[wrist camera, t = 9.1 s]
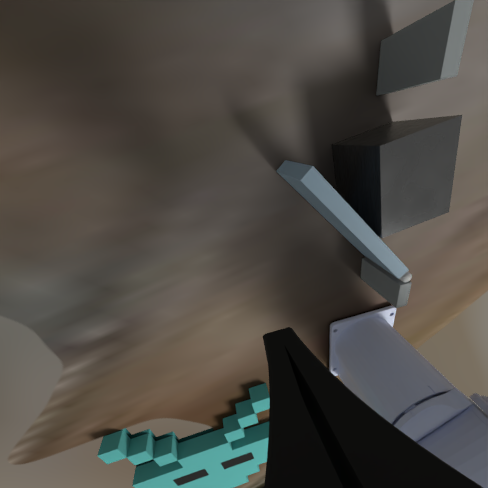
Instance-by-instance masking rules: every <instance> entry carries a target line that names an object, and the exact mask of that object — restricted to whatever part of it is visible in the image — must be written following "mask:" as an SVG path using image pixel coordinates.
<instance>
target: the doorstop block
mask: <svg viewBox="0 0 488 488" xmlns="http://www.w3.org/2000/svg"><path fill="white" fill-rule="evenodd" d="M461 119H462V115H457V116H447V117H437V118H427V119H417V120H407V121H397V122H391V123H388V124H386V125H383V126H380V127H378V128H375V129H372V130H370V131H367V132H364V133H362V134H359V135H356V136H354V137H351V138H348V139H345V140H343V141H340V142H337V143H335V144H332V152H333V161H334V169H335V178H336V186H337V192H338V194H339V195H340V196H341V197H342V198H343V199H344V200H345V201H346V202H347V203H348V204H349V205H350V207H351V208H352V209H353V210H354V211H355V212H356V213H357V214H358V215H359V216H360V217H361V218H362V220H363V221H364V222H365V223H366V224H367V225H368V226H369V227H370V228H371V229H372V230H373V231H374V233H375V234H376V235H377V236H379V237H381V238H383V237H386V236H389V235H391V234H394V233H396V232H399V231H401V230H404V229H407V228H409V227H412V226H414V225H417V224H419V223H422V222H424V221H427V220H430V219H432V218H435V217H437V216H440V215H442V214H445V213H447V212H449V207H450V200H451V192H452V185H453V178H454V170H455V163H456V155H457V148H458V141H459V133H460V126H461Z"/></svg>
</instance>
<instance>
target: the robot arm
mask: <svg viewBox="0 0 488 488" xmlns="http://www.w3.org/2000/svg"><path fill="white" fill-rule="evenodd" d="M395 313H396V308H395V307H394V306H388V307H384V308H381V309H377V310H374V311H371V312H367V313H364V314H360V315H357V316H353V317H350V318H346V319H343V320H339V321H336V322H333V323H331V325H330V356H329V370H328V369H327V368H326V367H325V366H324V365H323V364H322V363H321V362H320V361H319V360H318V359H317V358H316V356H315V355H314V354H313V353H312V352H311V351H310V350H309V349H308V348H307V347H306V345H305V344H304V343H303V342H302V341H301V340H300V338H299V337H298V336H297V335H296V333H295V332H294V331H293V329H292V328H290V327H288V328H285V329H281V330H278V331H274V332H271V333H267V334H265V335H264V336H263V340H264V345H265V350H266V356H267V361H268V368H269V386H270V413H269V438H268V452H267V466H266V477H265V486H264V488H488V397H486V396H480V395H479V394H477V393H475V394H473V395H471V396H470V398H471V399H472V400H473V401H474V402H475V403H476V404H477V405H478V406H479V407H480V408H481V409H480V408H479V407H478V406H477V405H476V404H475V403H474V402H473V401H472V400H471V399H469V398H468V397H467V396H466V395H464V394H463V393H462V392H461V391H459V390H458V389H457V388H456V387H455V386H454V385H453V384H452V383H451V382H449V381H448V380H447V379H446V378H445V377H444V376H443V375H442V374H441V373H440V372H439V371H438V370H437V369H436V368H435V367H434V366H433V365H432V364H431V363H430V362H429V361H427V360H426V359H425V358H424V357H423V356H422V355H421V354H420V353H419V352H418V351H417V350H416V349H415V348H414V347H413V346H412V345H411V344H410V343H409V342H408V341H407V340H406V339H404V338H403V337H402V336H401V335H400V334H399V333H398V332H397V331H396V330H395V329H394V328H393V324H394V318H395ZM337 375H339V377H340V378H341V380H342V382H343V383H344V384H343V383H342V382H341V381H340V380H339V379H338V378H336V377H335V376H337Z"/></svg>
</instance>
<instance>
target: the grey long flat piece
mask: <svg viewBox="0 0 488 488" xmlns="http://www.w3.org/2000/svg"><path fill="white" fill-rule="evenodd" d="M473 1H474V0H454V1H453V2H451V3H449V4H447V5H445V6H444V7H442V8H440V9H438V10H436V11H434V12H433V13H431V14H429V15H427V16H425V17H424V18H422V19H420V20H418V21H416V22H414V23H413V24H411V25H409V26H407V27H405V28H404V29H402V30H400V31H398V32H396V33H394V34H393V35H391V36H389V37H387V38H385V39H384V40H382V41H381V47H380V59H379V70H378V82H377V93H376V96H377V95H382V94H388V93H392V92H396V91H400V90H404V89H408V88H412V87H416V86H420V85H424V84H428V83H432V82H436V81H440V80H444V79H447V78H451V77H455V76H457V74H458V69H459V65H460V60H461V56H462V51H463V47H464V42H465V38H466V33H467V29H468V24H469V19H470V15H471V10H472V6H473ZM360 278H361V279H362V280H363V281H365V282H366V283H367V284H368V285H369V286H370V287H372V288H373V289H374V290H375V291H376V292H378V293H379V294H380V295H381V296H382V297H384V298H385V299H386V300H387V301H388V302H389V303H391V304H392V305H393V306H394V307H395V308H398V307H402V306H405V305H407V301H408V297H409V292H410V288H411V282H410V281H409V280H410V279H411V278H412V275H411V274H410V273H408V272H406V273H405V274H404V275H403V276H402V277H401V278H399V279H398V278H397V277H395V276H394V275H392V274H391V273H389V272H388V271H386V270H385V269H383V268H382V267H380V266H379V265H378V264H376V263H375V262H373V261H372V260H370V259H369V258H367V257H365V258H362V265H361V276H360Z"/></svg>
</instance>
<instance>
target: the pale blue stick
mask: <svg viewBox="0 0 488 488" xmlns="http://www.w3.org/2000/svg"><path fill="white" fill-rule="evenodd" d="M276 172H278V173H279V174H280V175H281V176H282V177H283V178H284V179H285V180H286V181H287V182H288V183H289V184H290V185H291V186H292V187H293V188H294V189H295V190H296V191H297V192H298V193H299V194H300V195H301V196H302V197H304V198H305V199H306V200H307V201H308V202H309V203H310V204H311V205H312V206H313V207H314V208H315V209H316V210H317V211H318V212H319V213H320V214H321V215H322V216H323V217H324V218H325V219H326V220H327V221H328V222H329V223H331V224H332V225H333V226H334V227H335V228H336V229H337V230H338V231H339V232H340V233H341V234H342V235H343V236H344V237H345V238H346V239H347V240H348V241H349V242H350V243H351V244H352V245H353V246H354V247H355V248H357V249H358V250H359V251H360V252H361V253H362V254H363V255H364V256H366V257H367V258H369V259H370V260H372V261H373V262H375V263H376V264H378V265H379V266H380V267H382V268H383V269H385V270H386V271H388V272H389V273H391V274H392V275H394V276H395V277H397V278H398V279H399V278H401V277H402V276H403V275H404V274H405V273H406V272H407V271H408V270H409V269H408V268H407V267H406V266H405V265H404V264H403V263H402V262H401V261H400V260H399V259H398V258H397V256H396V255H395V254H394V253H393V252H392V251H391V250H390V249H389V248H388V247H387V246H386V245H385V243H384V242H383V241H382V240H381V239H380V238H379V237H378V236H377V235H376V234H375V233H374V231H373V230H372V229H371V228H370V227H369V226H368V225H367V224H366V223H365V222H364V221H363V220H362V218H361V217H360V216H359V215H358V214H357V213H356V212H355V211H354V210H353V209H352V208H351V207H350V205H349V204H348V203H347V202H346V201H345V200H344V199H343V198H342V197H341V196H340V195H339V194H338V192H337V191H336V190H335V189H334V188H333V187H332V186H331V185H330V184H329V183H328V182H327V181H326V179H325V178H324V177H323V176H322V175H321V174H320V173H319V172H318V171H317V170H316V169H315V168H314V166H311V165H306V164H302V163H297V162H292V161H287V160H285V161H284V162H283V164H282V165H281V166H280V167H279V168H278V170H277V171H276Z"/></svg>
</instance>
